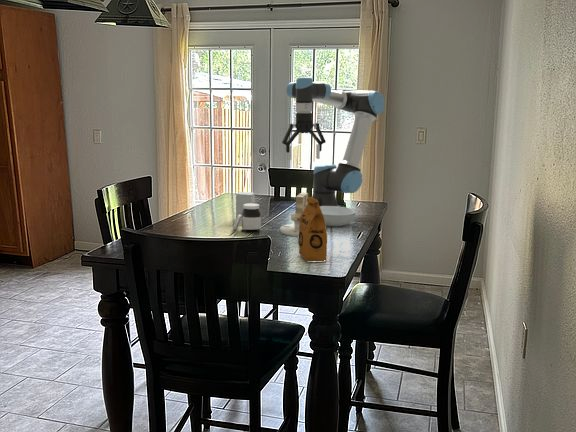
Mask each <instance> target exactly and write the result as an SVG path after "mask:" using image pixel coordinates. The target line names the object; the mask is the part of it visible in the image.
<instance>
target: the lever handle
mask: <svg viewBox="0 0 576 432" xmlns="http://www.w3.org/2000/svg"><path fill="white" fill-rule="evenodd" d="M308 197H309V193H308V192H300V193H299V194H298V195H296V196H295V210H294V211H295V212H294V213H292V214H290V220H291V221H292V222H294V221H296V222H300V216H301V214H302V212H303V211H304V209H305V207H306V206H307V204H308V201H307V198H308Z"/></svg>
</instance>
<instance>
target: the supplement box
mask: <svg viewBox="0 0 576 432" xmlns="http://www.w3.org/2000/svg"><path fill="white" fill-rule="evenodd" d="M255 195H256V193H255V192H252V191H251V192H249V191H240V192H238V193H236V194H235V219H236V218H237V216H238V215H242V211H243V209H244V208H243V205H244V204H248V203H254V204H255ZM241 222H242V219H241Z"/></svg>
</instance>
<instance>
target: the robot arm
mask: <svg viewBox="0 0 576 432" xmlns="http://www.w3.org/2000/svg"><path fill="white" fill-rule="evenodd" d="M285 91H286V94H287V96H288V97H289V98H292V99H295V112H296V113H295V123H291V122H290V123H289V124H288V129H287V130H286V133H285V136H284V137H283V139H282V141H281V143H282V144H283V145H285V151H286V153H287V155H288V157H287V159H288V160H290V161H292V142H293V141H294V140H295V139H296V138H297V137H298V135H299V134H304V133H305V134H310V136H311V137H312V138H313V139H314V140H315V142H316V143H317V144H316V146H315V149H316V150H315V152H316V153H315V155H316V156H315V158H316V160H317V159H318V160H320V158H321V157H320V155H321V154H320V153H321V152H322V150H323V148H322V145H323V144H326V139H325V137H324V135H323V132H322V130H321V128H320V123H319V122H315V123H313V113H312V112H313V102H314V103H320V104H324V105H328V106H332V107H334V108H335V109H337V110H341V111H343V112H348V113H352V114H353V115H354V117H355V119H354V122H353V126H352V129H351V132H350V136H349V140H348V142H347V145H346V149H345V152H344V156H343V158H342V160H341V161H340V162H339V163H338V165H336V164H324V165H315V167H314V168H313V175H312V178H313V179H312V180H313V181H312V195H311V197H312V198H314V199H316V200H317V201H318V203H319V206H339V204H338V201H337V196H336V192H339V193H344V194H354V193H356V192H358V191H359V189H360V188H361V186H362V184H363V174H362V173H361V171H362V169H361V167H360V163H361V159H362V156H363V153H364V150H365V147H366V143H367V140H368V137H369V134H370V131H371V127H372V123H373V122H374V121H377V117H378V116H379V115H381V114H382V113H383V112H384V110H385V104H386V103H385V98H384V96H383V93H381V92H380V91H377V90H372V89H371V90H342V89H340V90H339V89H338V90H333V89H332V86H331V85H330V83H328V82H326V81H313V78H312V77H297V78H296V80H295V81H291V82H289V83H287V85H286V90H285ZM313 127H314V129H315V130H316V133H317V135H318V136H317V135H316V133H315V132H314V131H313ZM294 128H296V129H295V130H294V132H293V134H292V135H291V133H292V131H293V129H294Z"/></svg>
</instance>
